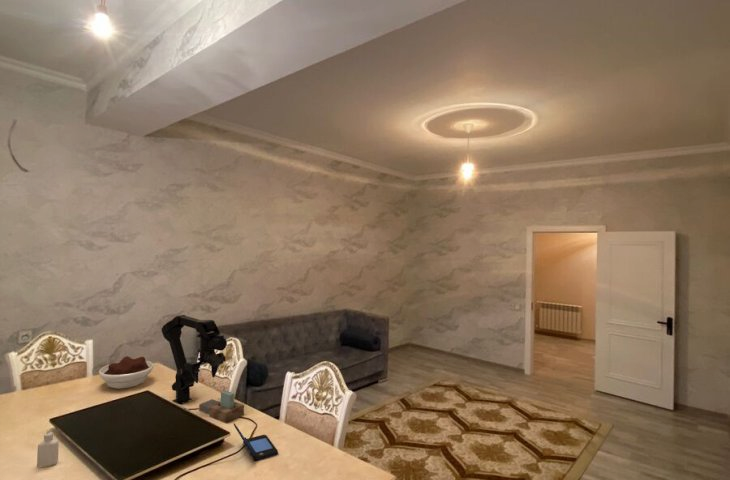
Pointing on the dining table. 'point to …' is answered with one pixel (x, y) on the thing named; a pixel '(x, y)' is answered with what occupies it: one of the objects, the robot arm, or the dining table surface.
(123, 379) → the bowl of chocolate mousse
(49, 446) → the eye dropper bottle
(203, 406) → the plate
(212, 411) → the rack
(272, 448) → the handheld game console
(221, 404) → the block
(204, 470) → the dining table surface
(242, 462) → the dining table surface
